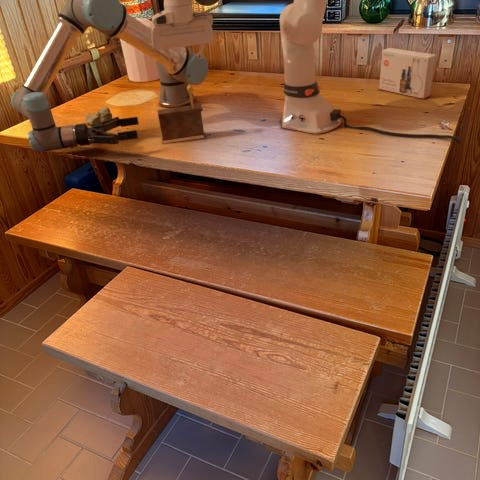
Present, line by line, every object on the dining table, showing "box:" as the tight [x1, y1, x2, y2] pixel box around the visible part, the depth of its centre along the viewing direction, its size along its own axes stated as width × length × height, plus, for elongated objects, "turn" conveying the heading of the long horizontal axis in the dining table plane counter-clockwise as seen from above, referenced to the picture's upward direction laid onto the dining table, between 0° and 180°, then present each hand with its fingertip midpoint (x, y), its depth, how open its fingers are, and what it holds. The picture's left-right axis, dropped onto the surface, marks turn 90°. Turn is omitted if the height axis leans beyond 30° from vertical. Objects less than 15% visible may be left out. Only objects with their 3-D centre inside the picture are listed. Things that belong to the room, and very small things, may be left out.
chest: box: [158, 111, 205, 144], centre depth 166 cm, size 15×5×10 cm, turn 99°
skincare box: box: [378, 47, 437, 100], centre depth 184 cm, size 21×6×16 cm, turn 40°
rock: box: [85, 105, 113, 126], centre depth 189 cm, size 11×6×10 cm
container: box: [119, 17, 160, 83], centre depth 235 cm, size 21×21×28 cm
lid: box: [157, 84, 203, 118], centre depth 161 cm, size 16×5×8 cm, turn 100°
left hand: (137, 127), depth 163 cm, fingers open, 13 cm apart
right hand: (185, 60), depth 154 cm, fingers open, 8 cm apart
